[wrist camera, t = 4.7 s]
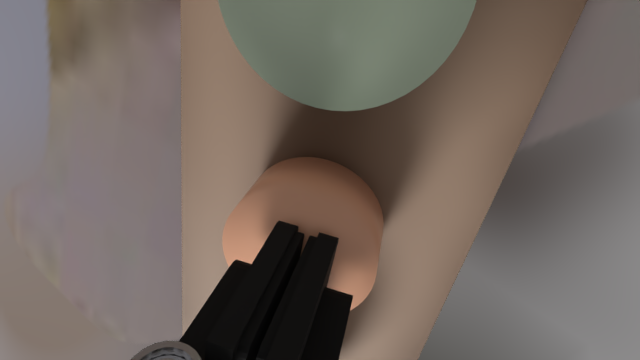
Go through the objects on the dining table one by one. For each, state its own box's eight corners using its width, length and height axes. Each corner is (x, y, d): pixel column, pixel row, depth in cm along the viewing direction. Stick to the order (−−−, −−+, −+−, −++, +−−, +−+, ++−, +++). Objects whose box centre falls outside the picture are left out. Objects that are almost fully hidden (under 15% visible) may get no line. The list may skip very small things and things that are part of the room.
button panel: (618, -165, 10) (687, -213, 7) (388, 375, 21) (382, 433, 18) (237, -223, 11) (179, -283, 8) (211, 318, 22) (182, 364, 19)
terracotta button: (400, 179, 11) (396, 217, 10) (365, 289, 13) (356, 336, 12) (255, 140, 12) (226, 170, 10) (244, 252, 14) (218, 292, 12)
